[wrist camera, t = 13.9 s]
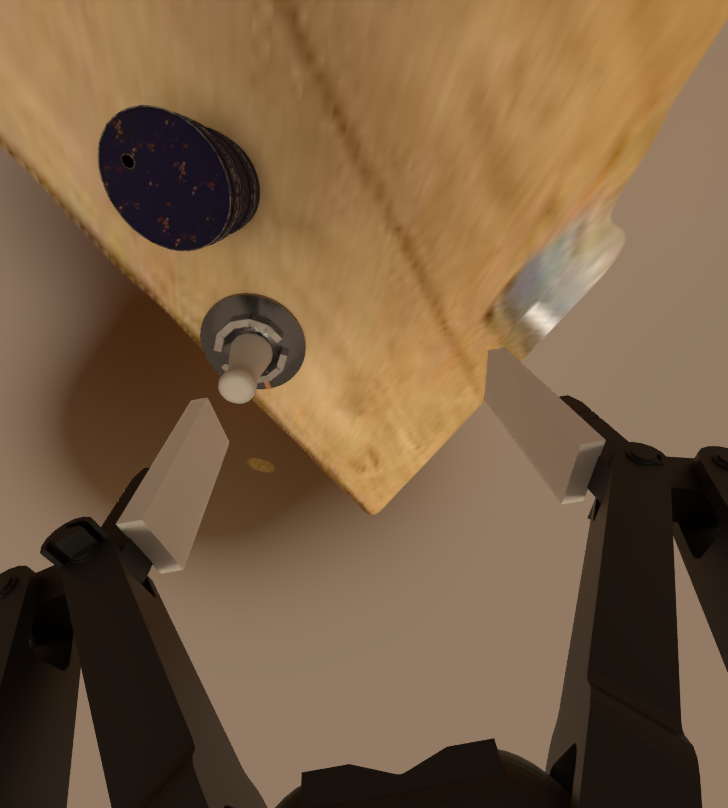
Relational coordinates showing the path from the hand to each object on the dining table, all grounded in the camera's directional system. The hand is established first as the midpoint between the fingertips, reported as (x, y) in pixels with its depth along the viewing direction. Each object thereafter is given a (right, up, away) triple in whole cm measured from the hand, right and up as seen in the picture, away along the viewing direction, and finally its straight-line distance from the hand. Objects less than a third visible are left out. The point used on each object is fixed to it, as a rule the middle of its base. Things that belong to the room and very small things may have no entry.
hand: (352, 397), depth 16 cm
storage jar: (-17, +26, +23) cm, 38 cm away
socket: (-16, +9, +34) cm, 39 cm away
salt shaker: (-16, +8, +34) cm, 38 cm away
